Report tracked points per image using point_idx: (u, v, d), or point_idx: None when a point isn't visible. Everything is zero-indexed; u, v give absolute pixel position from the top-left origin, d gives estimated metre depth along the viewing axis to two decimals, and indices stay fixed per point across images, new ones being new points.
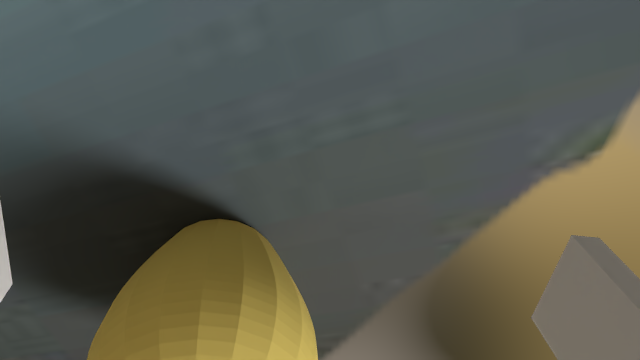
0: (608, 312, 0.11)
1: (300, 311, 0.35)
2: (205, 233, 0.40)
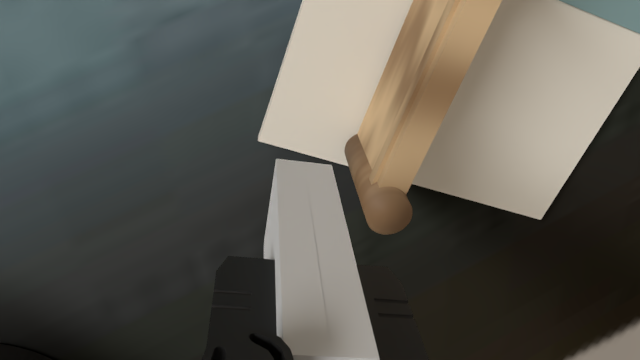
0: None
1: None
2: None
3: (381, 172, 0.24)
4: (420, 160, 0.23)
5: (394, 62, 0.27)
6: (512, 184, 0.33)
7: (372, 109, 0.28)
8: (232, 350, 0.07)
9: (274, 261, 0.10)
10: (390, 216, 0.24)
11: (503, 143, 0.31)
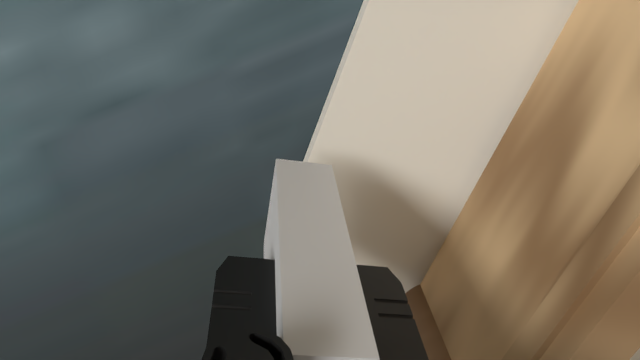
0: None
1: None
2: None
3: None
4: None
5: (498, 187, 0.15)
6: None
7: (451, 255, 0.16)
8: (232, 350, 0.07)
9: (274, 261, 0.10)
10: None
11: None
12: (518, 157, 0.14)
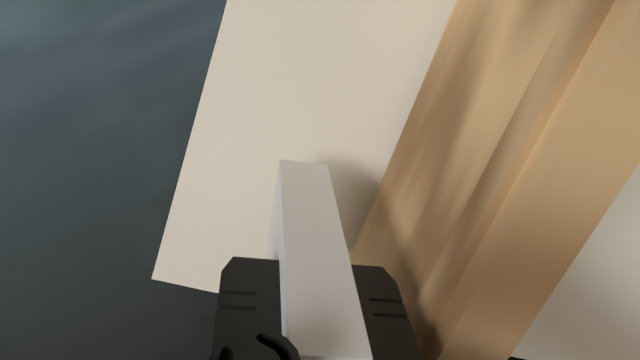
0: None
1: None
2: None
3: None
4: None
5: (404, 165, 0.14)
6: (587, 334, 0.20)
7: (365, 242, 0.15)
8: (239, 350, 0.07)
9: (279, 261, 0.10)
10: None
11: (578, 277, 0.18)
12: (420, 132, 0.13)
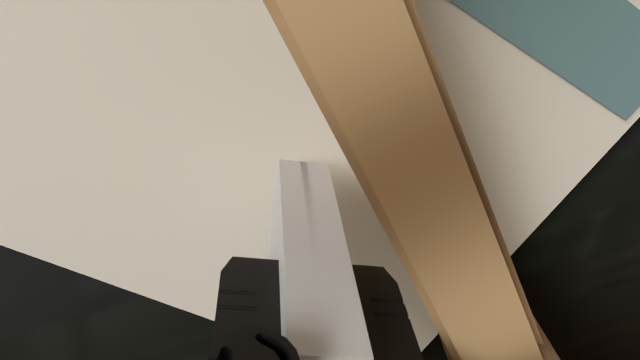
0: None
1: None
2: None
3: None
4: (514, 303, 0.09)
5: None
6: None
7: None
8: (238, 350, 0.07)
9: (278, 261, 0.10)
10: None
11: None
12: None
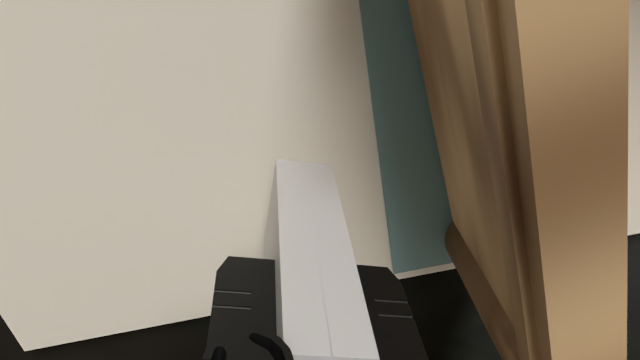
0: None
1: None
2: None
3: (540, 359, 0.10)
4: (620, 313, 0.09)
5: (435, 90, 0.12)
6: (34, 263, 0.16)
7: (450, 181, 0.14)
8: (232, 350, 0.07)
9: (274, 261, 0.10)
10: None
11: (83, 190, 0.15)
12: (428, 49, 0.12)
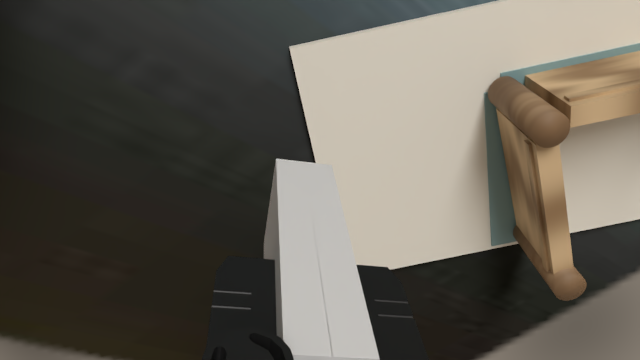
0: None
1: None
2: None
3: (549, 264, 0.36)
4: (569, 248, 0.34)
5: (513, 182, 0.38)
6: (357, 242, 0.41)
7: (516, 210, 0.39)
8: (232, 350, 0.07)
9: (274, 261, 0.10)
10: (571, 288, 0.35)
11: (382, 215, 0.40)
12: (512, 171, 0.37)
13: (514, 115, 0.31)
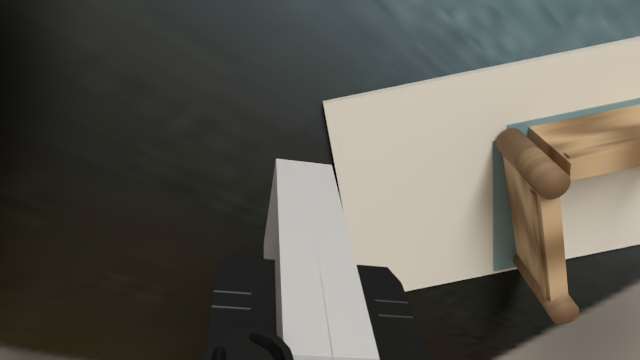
0: None
1: None
2: None
3: (547, 292, 0.41)
4: (565, 280, 0.39)
5: (516, 218, 0.43)
6: None
7: (517, 242, 0.44)
8: (232, 350, 0.07)
9: (274, 261, 0.10)
10: (566, 314, 0.40)
11: (398, 245, 0.45)
12: (515, 209, 0.42)
13: (521, 168, 0.36)
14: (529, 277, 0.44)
